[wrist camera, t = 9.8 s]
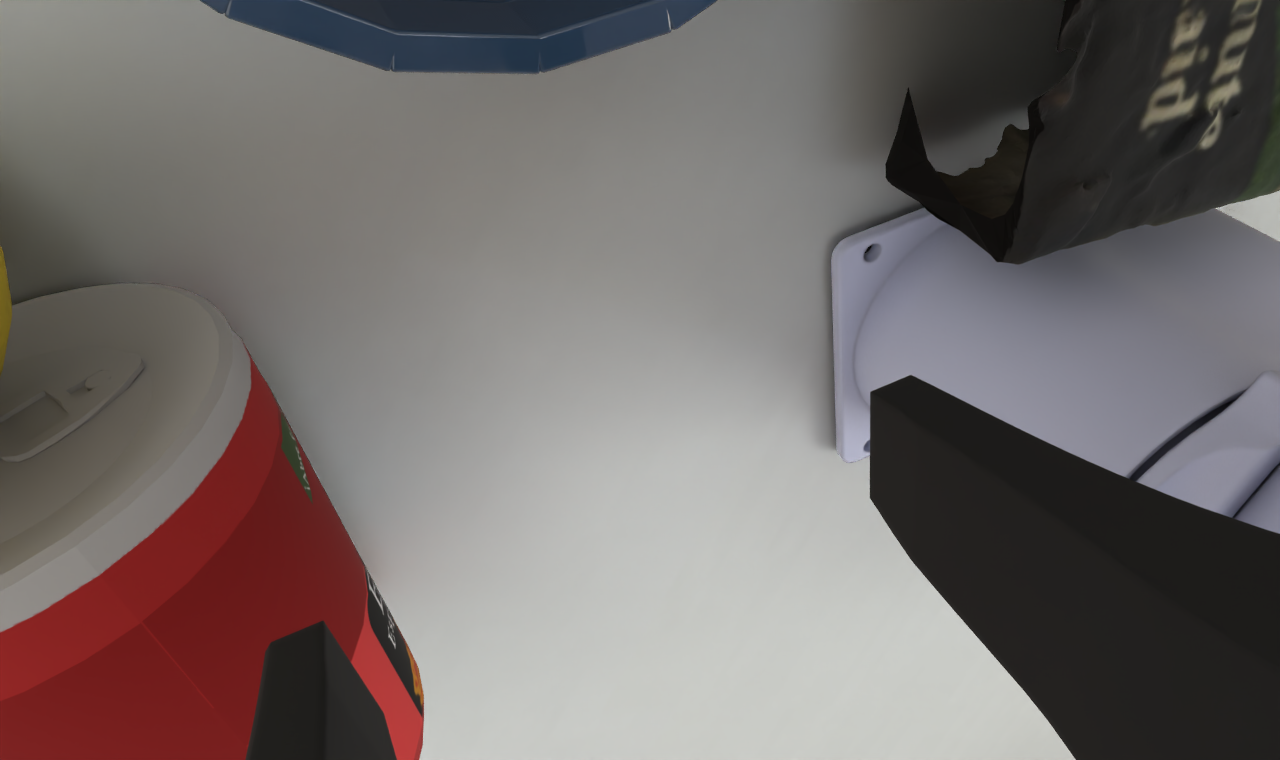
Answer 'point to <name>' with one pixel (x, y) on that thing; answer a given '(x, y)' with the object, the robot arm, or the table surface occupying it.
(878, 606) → the table surface
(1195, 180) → the juice carton
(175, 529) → the canned food
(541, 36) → the bowl
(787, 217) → the table surface
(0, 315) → the lemon
